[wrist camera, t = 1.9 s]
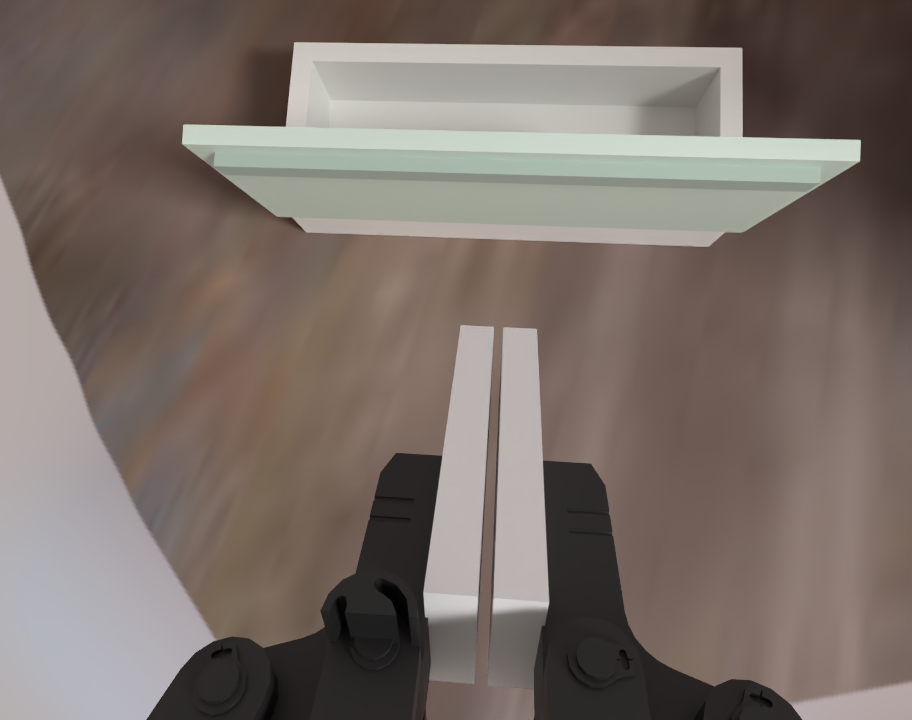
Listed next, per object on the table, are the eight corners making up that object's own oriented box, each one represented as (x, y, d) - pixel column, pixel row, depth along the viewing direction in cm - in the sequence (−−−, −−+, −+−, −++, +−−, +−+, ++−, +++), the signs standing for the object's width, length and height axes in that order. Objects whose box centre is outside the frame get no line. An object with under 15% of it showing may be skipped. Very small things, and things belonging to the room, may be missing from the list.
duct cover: (860, 140, 21) (859, 177, 21) (742, 218, 31) (741, 243, 31) (183, 124, 23) (180, 158, 23) (277, 202, 33) (276, 227, 33)
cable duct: (709, 99, 37) (742, 47, 32) (708, 246, 36) (742, 217, 31) (319, 91, 39) (294, 42, 34) (306, 232, 38) (277, 202, 33)
